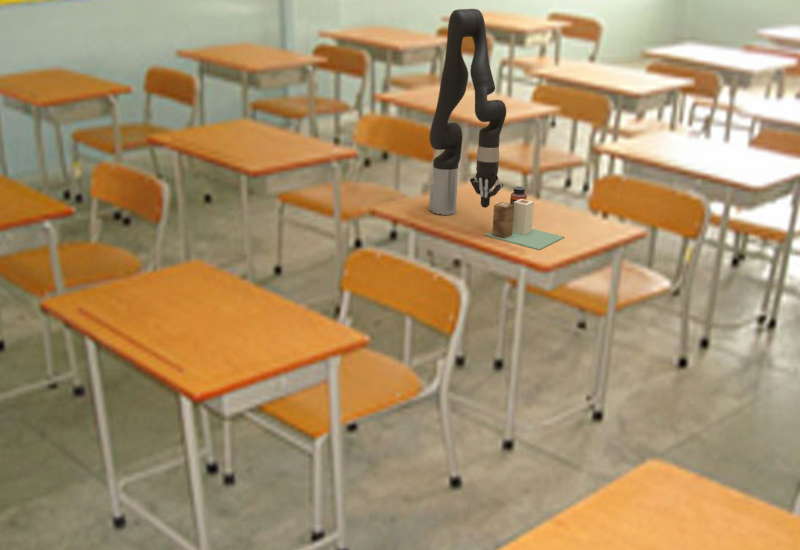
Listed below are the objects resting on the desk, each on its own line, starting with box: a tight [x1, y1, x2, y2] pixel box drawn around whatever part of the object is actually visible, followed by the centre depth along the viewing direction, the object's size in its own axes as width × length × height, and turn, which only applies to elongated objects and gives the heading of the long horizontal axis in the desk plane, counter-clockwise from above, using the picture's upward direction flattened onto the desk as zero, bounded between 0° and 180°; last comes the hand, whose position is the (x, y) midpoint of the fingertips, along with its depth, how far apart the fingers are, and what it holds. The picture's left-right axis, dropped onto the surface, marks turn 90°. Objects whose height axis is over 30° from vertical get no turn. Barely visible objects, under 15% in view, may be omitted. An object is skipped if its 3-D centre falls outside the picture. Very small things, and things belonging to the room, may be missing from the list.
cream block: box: [512, 199, 535, 235], centre depth 343 cm, size 5×5×11 cm
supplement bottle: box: [509, 186, 528, 205], centre depth 360 cm, size 6×6×11 cm
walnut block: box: [491, 201, 514, 239], centre depth 339 cm, size 5×5×11 cm
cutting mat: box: [484, 228, 565, 251], centre depth 341 cm, size 22×17×1 cm
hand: (484, 206), depth 342 cm, fingers closed
